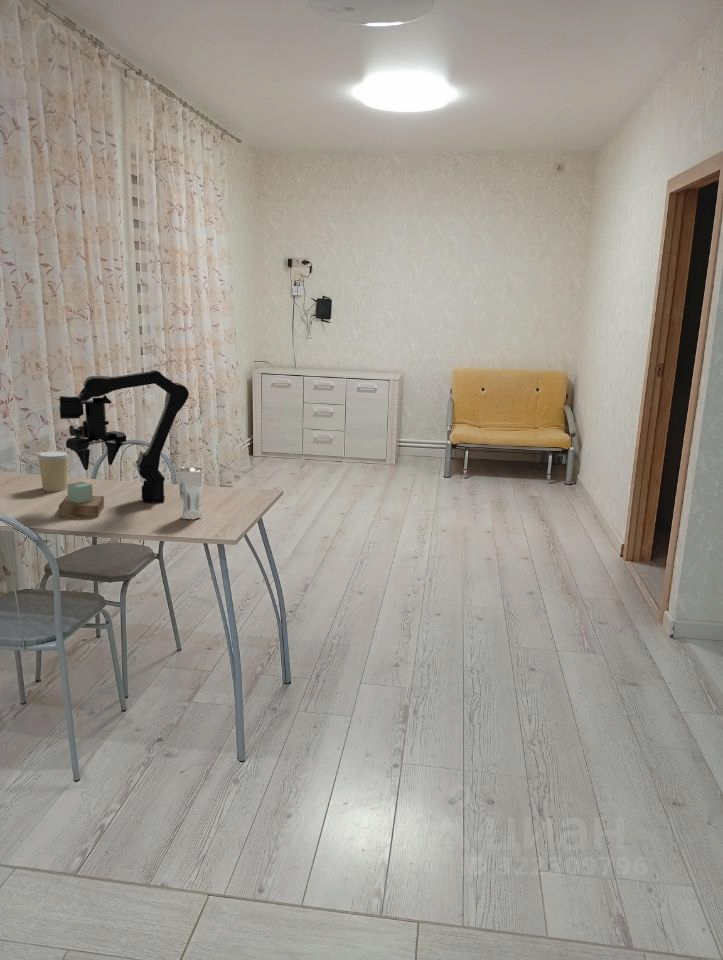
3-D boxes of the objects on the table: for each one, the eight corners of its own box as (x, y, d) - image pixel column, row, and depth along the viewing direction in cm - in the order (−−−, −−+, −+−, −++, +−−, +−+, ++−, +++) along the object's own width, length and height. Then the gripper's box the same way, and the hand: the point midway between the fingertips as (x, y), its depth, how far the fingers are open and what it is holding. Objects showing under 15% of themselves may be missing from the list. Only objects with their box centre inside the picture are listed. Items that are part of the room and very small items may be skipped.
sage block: (82, 497, 231) (81, 481, 230) (92, 500, 228) (92, 484, 227) (67, 500, 227) (67, 484, 225) (78, 503, 224) (78, 487, 223)
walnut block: (104, 508, 235) (103, 496, 234) (98, 518, 224) (97, 505, 223) (67, 508, 233) (66, 495, 232) (59, 518, 222) (58, 505, 221)
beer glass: (202, 520, 225) (202, 471, 222) (178, 520, 224) (177, 471, 220) (203, 514, 232) (203, 466, 228) (180, 514, 231) (179, 466, 227)
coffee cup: (73, 485, 258) (72, 451, 255) (64, 492, 248) (63, 457, 246) (46, 484, 257) (44, 450, 254) (35, 491, 248) (33, 456, 245)
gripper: (102, 411, 243) (105, 458, 247) (52, 418, 227) (55, 468, 231) (126, 415, 237) (128, 463, 241) (76, 422, 222) (79, 474, 226)
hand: (98, 467), depth 235 cm, fingers open, 9 cm apart
